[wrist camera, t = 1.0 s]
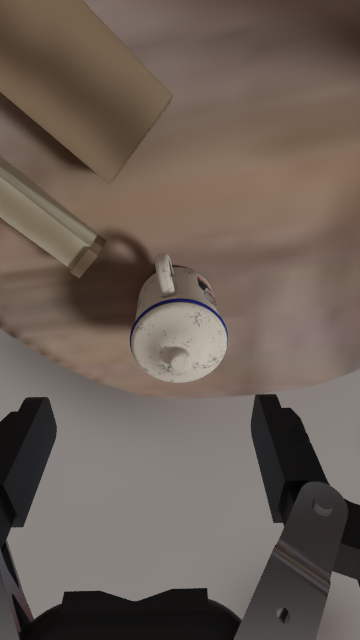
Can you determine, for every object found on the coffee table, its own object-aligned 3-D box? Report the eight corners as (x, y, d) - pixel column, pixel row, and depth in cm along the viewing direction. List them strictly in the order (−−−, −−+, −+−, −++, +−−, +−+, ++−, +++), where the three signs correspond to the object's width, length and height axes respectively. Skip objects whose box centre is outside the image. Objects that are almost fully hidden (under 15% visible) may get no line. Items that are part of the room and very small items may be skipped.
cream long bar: (-72, 98, 27) (-112, 93, 23) (105, 240, 34) (97, 255, 30) (-86, 129, 28) (-127, 129, 24) (88, 261, 35) (79, 278, 31)
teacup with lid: (221, 326, 40) (239, 393, 30) (148, 340, 40) (142, 411, 30) (204, 229, 34) (221, 272, 24) (118, 247, 34) (100, 298, 24)
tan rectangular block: (46, -31, 24) (20, -66, 20) (171, 100, 28) (172, 95, 24) (-4, 71, 27) (-36, 61, 23) (116, 176, 31) (108, 184, 27)
